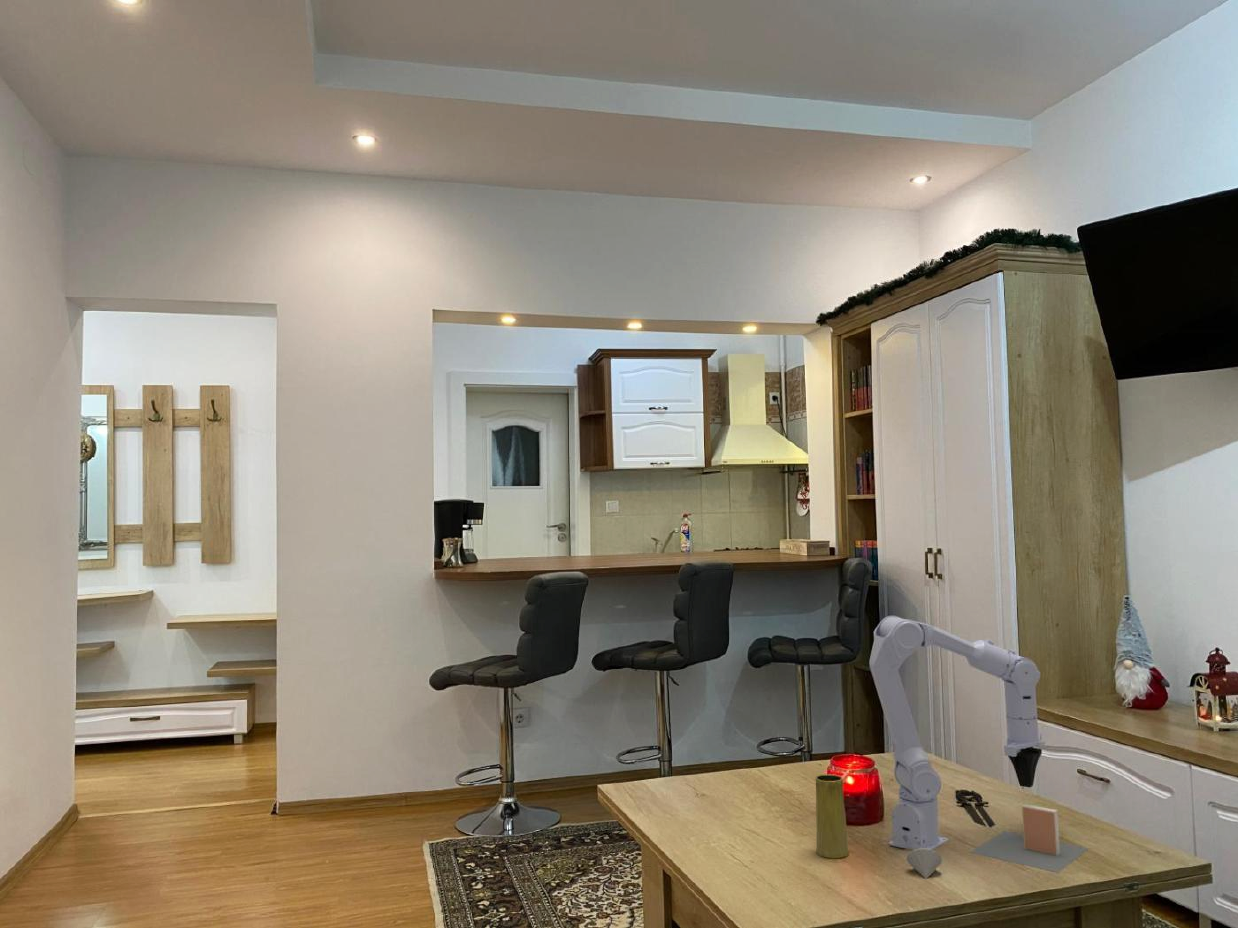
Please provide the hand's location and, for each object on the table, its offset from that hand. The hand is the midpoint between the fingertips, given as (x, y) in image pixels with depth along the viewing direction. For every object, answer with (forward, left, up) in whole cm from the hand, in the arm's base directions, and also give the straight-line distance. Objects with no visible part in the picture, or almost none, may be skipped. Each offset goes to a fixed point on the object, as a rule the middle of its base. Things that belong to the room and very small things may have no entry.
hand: (1026, 785), depth 182 cm
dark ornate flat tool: (+10, +15, -11) cm, 21 cm away
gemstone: (-30, +7, -10) cm, 33 cm away
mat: (-8, -3, -10) cm, 13 cm away
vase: (-32, +25, -10) cm, 42 cm away
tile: (-7, -5, -10) cm, 13 cm away
